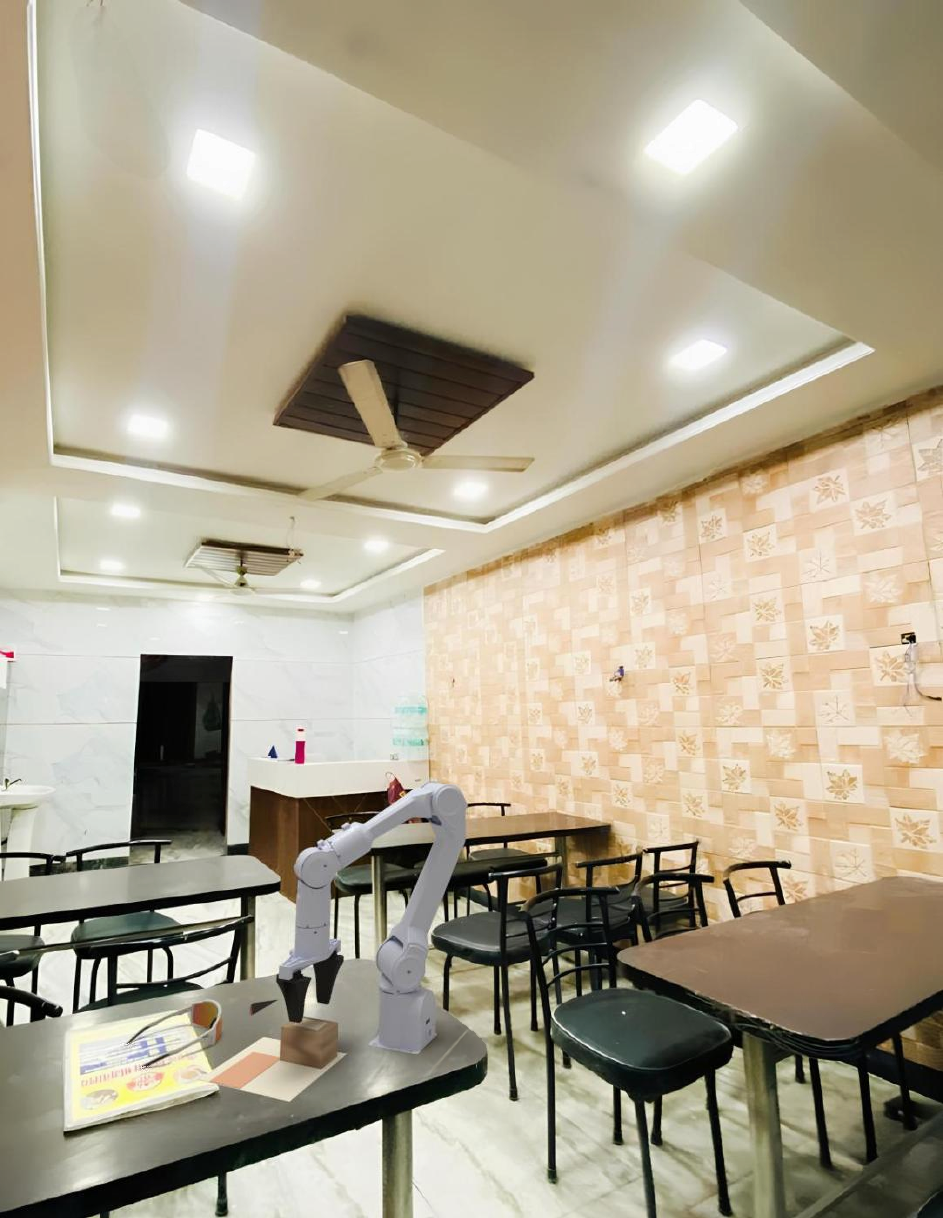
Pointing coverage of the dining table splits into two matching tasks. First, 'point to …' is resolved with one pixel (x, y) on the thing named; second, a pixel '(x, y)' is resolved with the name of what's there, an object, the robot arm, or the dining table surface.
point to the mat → (266, 1072)
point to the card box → (309, 1042)
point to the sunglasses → (201, 1015)
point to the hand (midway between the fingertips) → (309, 1012)
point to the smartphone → (260, 1006)
